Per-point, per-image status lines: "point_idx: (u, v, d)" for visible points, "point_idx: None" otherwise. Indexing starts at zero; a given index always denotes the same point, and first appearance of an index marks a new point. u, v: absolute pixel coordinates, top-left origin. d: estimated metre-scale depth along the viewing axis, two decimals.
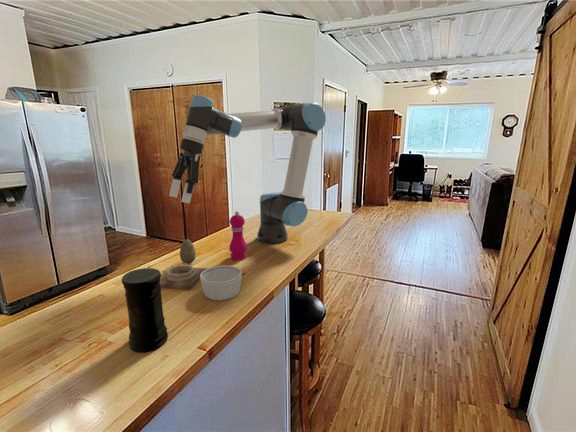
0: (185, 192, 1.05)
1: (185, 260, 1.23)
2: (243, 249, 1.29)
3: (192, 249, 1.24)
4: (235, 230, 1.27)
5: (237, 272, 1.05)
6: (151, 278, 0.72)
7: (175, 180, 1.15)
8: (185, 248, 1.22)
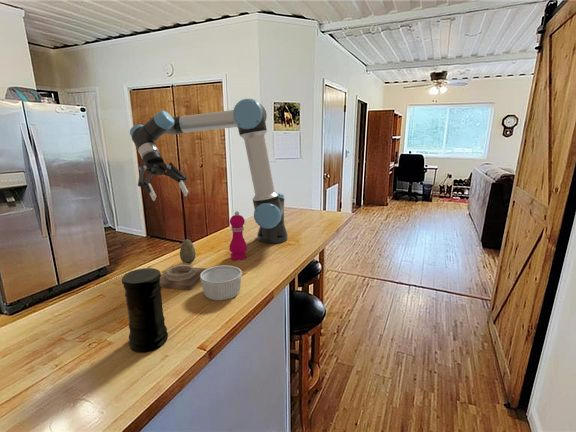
0: (149, 193, 1.23)
1: (185, 260, 1.23)
2: (243, 249, 1.29)
3: (192, 249, 1.24)
4: (235, 230, 1.27)
5: (237, 272, 1.05)
6: (151, 278, 0.72)
7: (179, 184, 1.33)
8: (185, 248, 1.22)
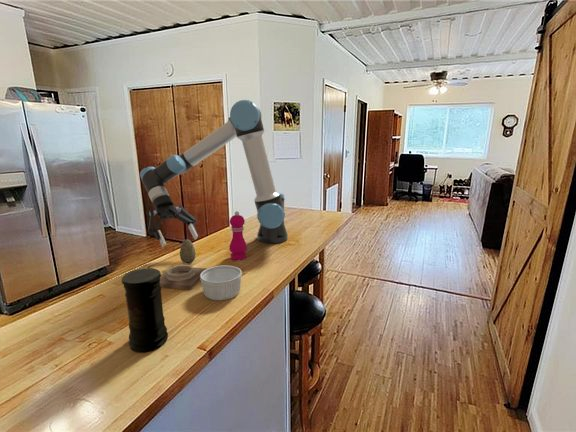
0: (159, 239, 1.22)
1: (185, 260, 1.23)
2: (243, 249, 1.29)
3: (192, 249, 1.24)
4: (235, 230, 1.27)
5: (237, 272, 1.05)
6: (151, 278, 0.72)
7: (189, 227, 1.33)
8: (185, 248, 1.22)
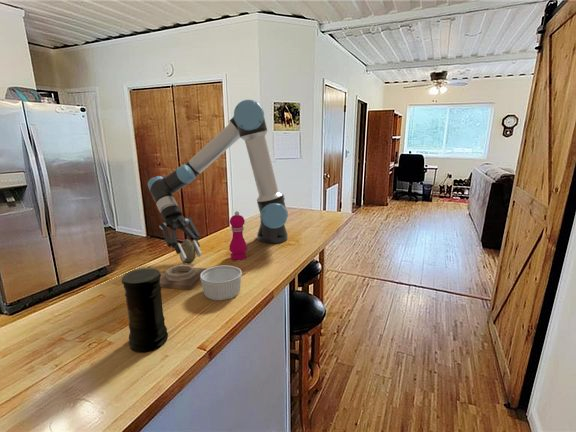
0: (179, 253, 1.22)
1: (185, 260, 1.23)
2: (243, 249, 1.29)
3: (192, 249, 1.24)
4: (235, 230, 1.27)
5: (237, 272, 1.05)
6: (151, 278, 0.72)
7: (192, 243, 1.27)
8: (185, 248, 1.22)
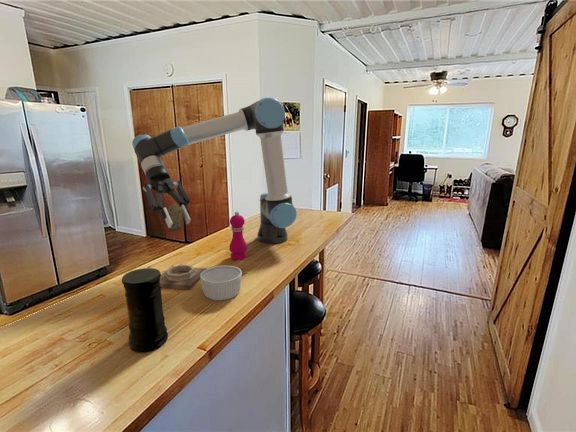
0: (165, 219, 1.07)
1: (171, 227, 1.08)
2: (243, 249, 1.29)
3: (180, 215, 1.08)
4: (235, 230, 1.27)
5: (237, 272, 1.05)
6: (151, 278, 0.72)
7: None
8: (171, 213, 1.07)
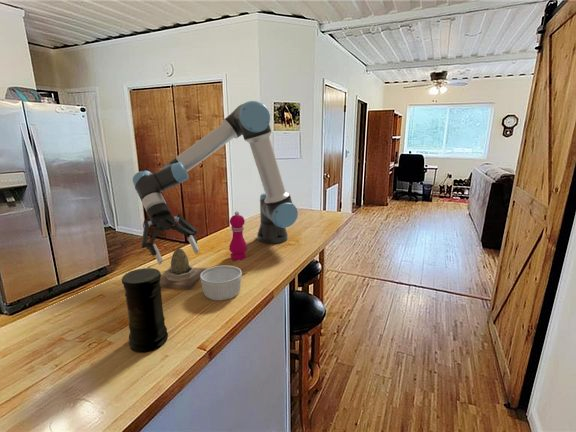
0: (155, 255, 1.06)
1: (177, 272, 1.09)
2: (243, 249, 1.29)
3: (185, 259, 1.09)
4: (235, 230, 1.27)
5: (237, 272, 1.05)
6: (151, 278, 0.72)
7: (189, 239, 1.16)
8: (177, 258, 1.08)
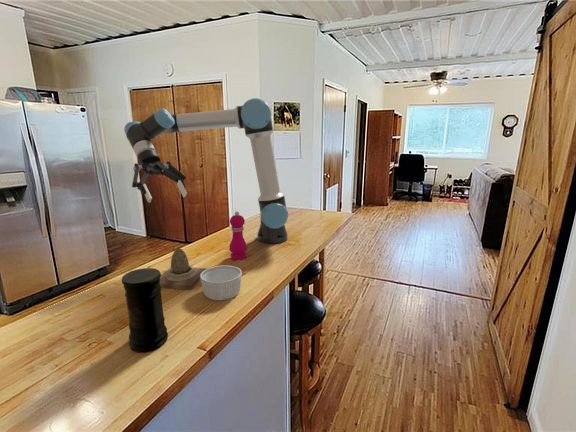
0: (145, 194, 1.13)
1: (177, 272, 1.09)
2: (243, 249, 1.29)
3: (185, 259, 1.09)
4: (235, 230, 1.27)
5: (237, 272, 1.05)
6: (151, 278, 0.72)
7: (177, 184, 1.24)
8: (176, 258, 1.08)
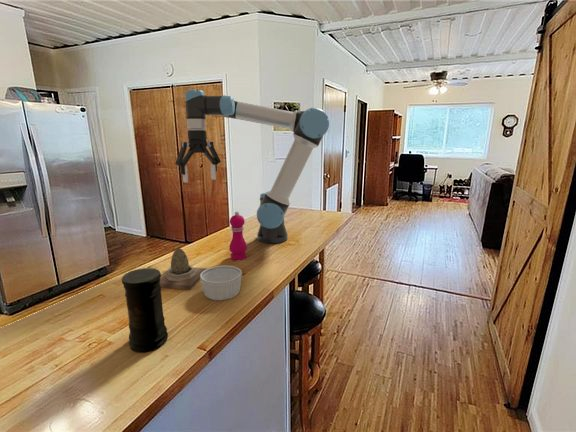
0: None
1: (177, 272, 1.09)
2: (243, 249, 1.29)
3: (185, 259, 1.09)
4: (235, 230, 1.27)
5: (237, 272, 1.05)
6: (151, 278, 0.72)
7: (211, 165, 1.39)
8: (176, 258, 1.08)
